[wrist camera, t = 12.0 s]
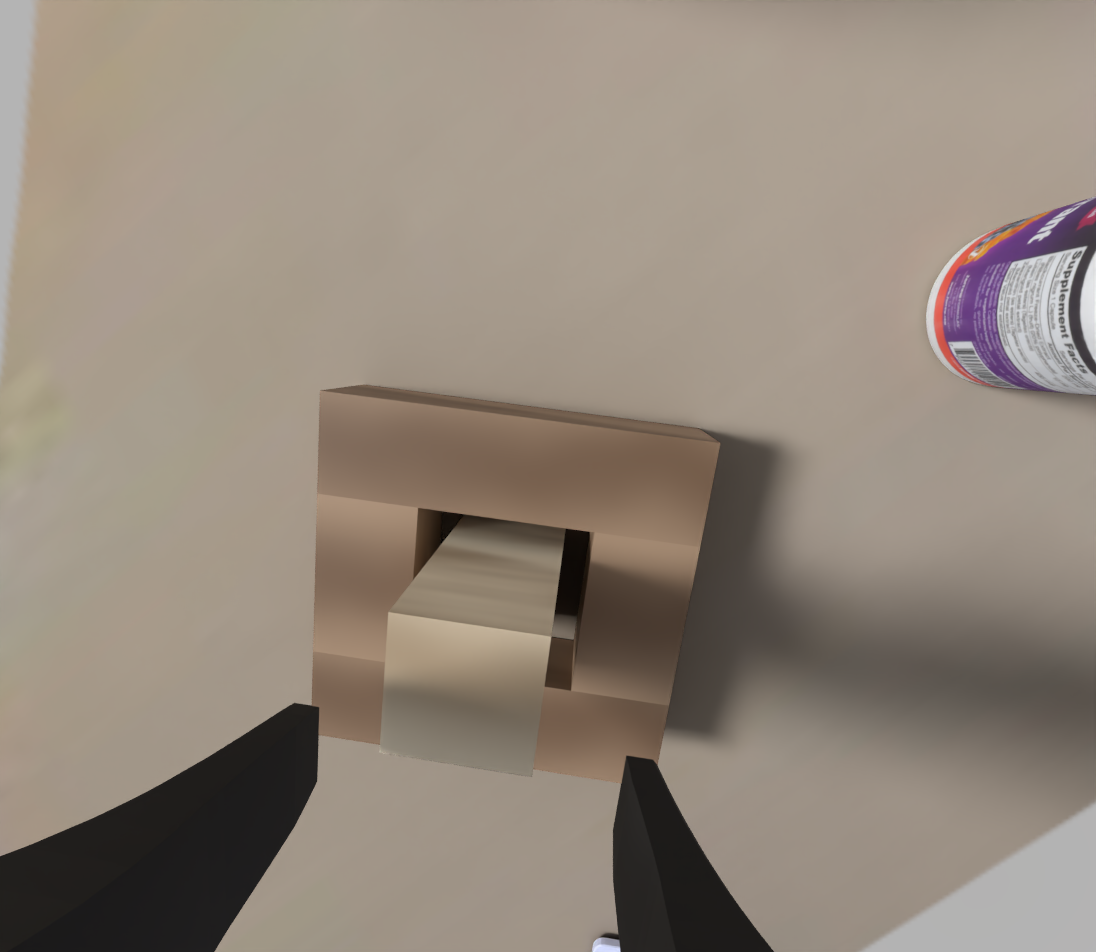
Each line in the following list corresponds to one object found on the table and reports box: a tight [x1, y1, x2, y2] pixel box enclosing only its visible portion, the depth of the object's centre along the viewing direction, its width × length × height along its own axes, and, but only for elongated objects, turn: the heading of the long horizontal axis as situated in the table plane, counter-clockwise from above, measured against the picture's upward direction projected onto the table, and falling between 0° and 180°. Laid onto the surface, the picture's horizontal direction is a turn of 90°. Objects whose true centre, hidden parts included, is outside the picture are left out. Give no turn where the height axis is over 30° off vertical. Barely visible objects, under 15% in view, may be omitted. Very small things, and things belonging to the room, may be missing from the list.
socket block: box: [312, 385, 721, 783], centre depth 21 cm, size 13×13×4 cm
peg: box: [380, 514, 566, 777], centre depth 18 cm, size 4×4×9 cm
